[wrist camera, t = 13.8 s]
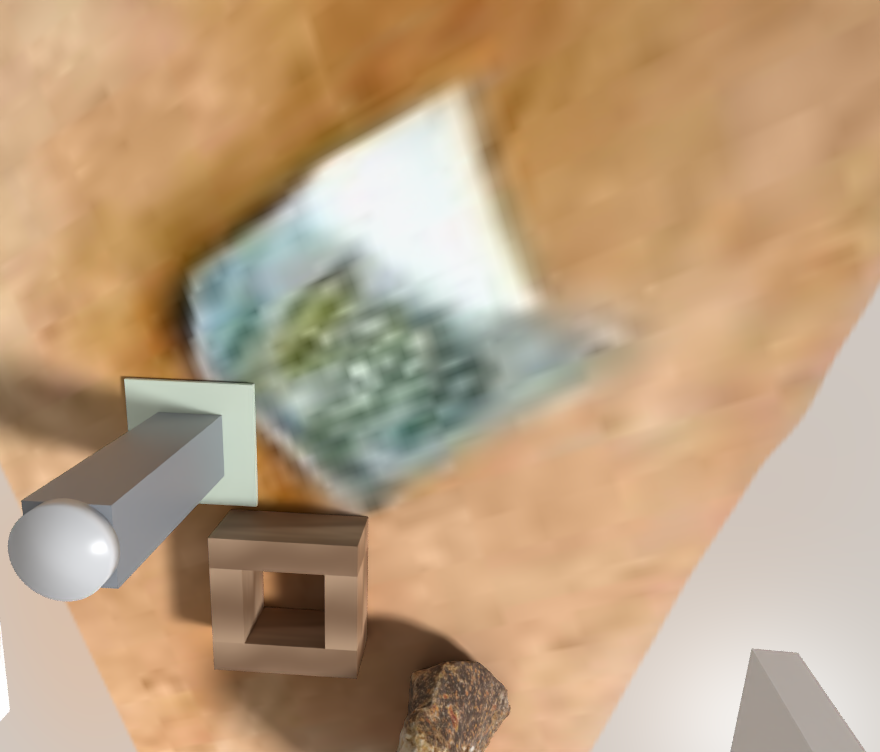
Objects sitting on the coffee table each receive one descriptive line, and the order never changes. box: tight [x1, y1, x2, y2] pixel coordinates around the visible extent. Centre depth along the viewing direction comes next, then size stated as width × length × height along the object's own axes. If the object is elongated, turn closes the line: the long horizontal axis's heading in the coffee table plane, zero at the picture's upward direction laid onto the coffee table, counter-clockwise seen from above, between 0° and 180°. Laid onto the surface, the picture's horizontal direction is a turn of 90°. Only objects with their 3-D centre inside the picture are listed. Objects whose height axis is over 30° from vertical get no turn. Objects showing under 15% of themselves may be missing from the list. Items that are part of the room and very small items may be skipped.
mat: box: [124, 378, 258, 507], centre depth 49 cm, size 9×9×1 cm
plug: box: [8, 412, 224, 601], centre depth 41 cm, size 5×5×16 cm
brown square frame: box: [208, 509, 368, 679], centre depth 49 cm, size 10×10×4 cm
